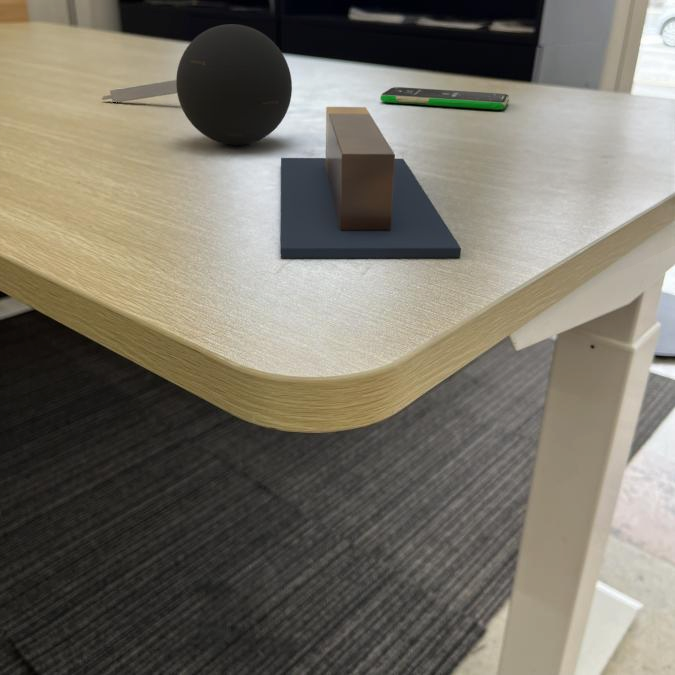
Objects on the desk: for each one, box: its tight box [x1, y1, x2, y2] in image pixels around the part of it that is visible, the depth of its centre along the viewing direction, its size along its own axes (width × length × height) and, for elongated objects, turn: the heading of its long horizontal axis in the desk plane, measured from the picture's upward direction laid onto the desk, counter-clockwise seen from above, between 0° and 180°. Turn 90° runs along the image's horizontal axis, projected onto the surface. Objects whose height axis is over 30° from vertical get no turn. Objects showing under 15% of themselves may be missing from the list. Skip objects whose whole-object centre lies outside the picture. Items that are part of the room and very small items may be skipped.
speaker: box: [175, 23, 293, 146], centre depth 65 cm, size 10×10×10 cm
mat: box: [279, 157, 462, 259], centre depth 51 cm, size 10×22×1 cm, turn 4°
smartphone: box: [379, 86, 510, 111], centre depth 91 cm, size 8×1×15 cm
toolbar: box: [325, 106, 396, 230], centre depth 50 cm, size 3×16×4 cm, turn 4°
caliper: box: [100, 79, 177, 104], centre depth 84 cm, size 20×1×6 cm, turn 76°
